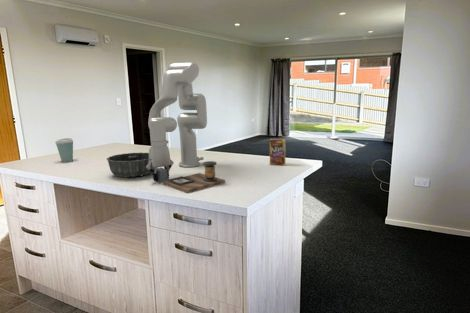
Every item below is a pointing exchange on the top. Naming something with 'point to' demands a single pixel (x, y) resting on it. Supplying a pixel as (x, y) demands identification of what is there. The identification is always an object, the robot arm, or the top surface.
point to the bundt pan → (129, 164)
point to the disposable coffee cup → (65, 149)
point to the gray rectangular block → (162, 174)
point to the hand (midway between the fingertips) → (161, 179)
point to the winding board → (196, 180)
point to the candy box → (277, 151)
